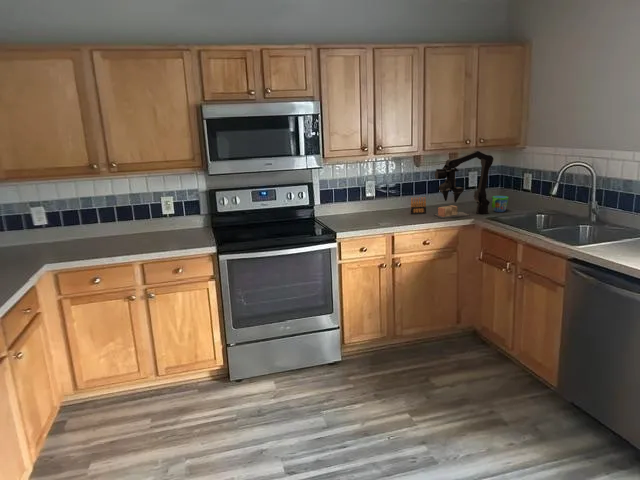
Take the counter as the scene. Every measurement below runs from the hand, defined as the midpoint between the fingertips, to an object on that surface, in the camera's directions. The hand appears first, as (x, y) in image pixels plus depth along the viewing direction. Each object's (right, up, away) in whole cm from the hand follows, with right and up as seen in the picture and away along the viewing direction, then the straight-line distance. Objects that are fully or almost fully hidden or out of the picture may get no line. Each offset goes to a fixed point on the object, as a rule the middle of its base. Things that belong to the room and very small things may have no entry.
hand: (450, 201), depth 343 cm
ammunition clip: (-19, -8, +14) cm, 25 cm away
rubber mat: (+2, -9, +3) cm, 10 cm away
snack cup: (+37, -6, +10) cm, 39 cm away
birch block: (+4, -5, +3) cm, 7 cm away
